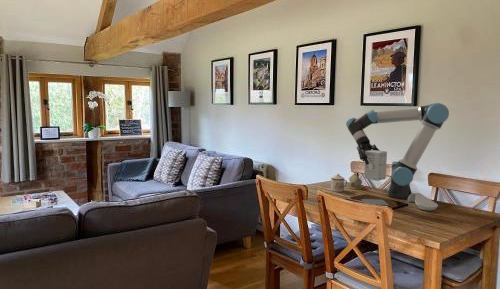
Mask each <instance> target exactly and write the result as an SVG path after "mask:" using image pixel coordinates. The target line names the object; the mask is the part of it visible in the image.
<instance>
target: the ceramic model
mask: <svg viewBox="0 0 500 289" xmlns="http://www.w3.org/2000/svg"><path fill="white" fill-rule="evenodd" d="M348 181H349V182H348V183H347V186H346V187H348V189H352V190H363V189H364V185H362V184H363V181H362V180H361V178H360V177H359V176H358V175H357V174H356V173H354V174H353V173H352V175H350V177H349V178H348ZM362 188H363V189H362Z"/></svg>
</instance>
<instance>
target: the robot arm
mask: <svg viewBox="0 0 500 289" xmlns="http://www.w3.org/2000/svg"><path fill="white" fill-rule="evenodd" d="M449 117H450V111H449V108H448V107H447V106H446V105H445V104H443V103H441V102H435V103H431V104H427V105H420V106H418V107H417V108H406V109H398V110H397V109H394V110H385V111H384V110H383V111H375V110H374V109H371V110H369V111H367V112H365V113H364V114H363V115H362V116H359V118H356V117H352V118H348V120H347V121H346V122H345V125H346V127H347V130H348V132H349V133H350V135H351V136H352V137H353V139H354V141H355V143H356V145H357V146H356V149H357V152H358V157H359V159H360V160H361V161H362V162H364V164H365V163H366V164H367V165H368V167H369V169H370V170H371V169H372V168H373V165H372V164H371V162H370V160H369V159H368V158H367V156H366V154H365V151H370V150H378V151H381V150H380V149H379V148H378V147H377V146H376V144H371V141H370V139H369V138H368V135H367V134H366V132H365V131H364V130H365V129H366V128H367V127H369V126H371V125H376V124H386V123H399V122H411V121H413V122H415V121H419V122H421V125H420V127H419V128H418V130H417V132H416V134H415V136H414V138H413V140H412V141H411V143H410V145H409V147H408V148H407V150H406V152H405V155H404V156H403V158H401V159H399V160H398V161H392V163H391V172H390V173H391V174H390V185H389V187H388V190H387V196H388V197H390V198H393V199H394V198H395V199H401V200H402V199H403V200H404V199H405V200H408V197H409V196H410V194H411V193H413V192H412V189H411V182H413V180H414V175H415V174H416V172H417V170H418V167H417V165H418V163H419V161H420V160H421V158H422V156H423V154H424V153H425V150H427V147H428V146H429V144H430V143H431V141H432V138H433V137H434V135H435V133H436V132H437V131H438V130H440V129H441V128H442V126H443V124H444V123H445V122H446V121H447V120H448V119H449ZM386 168H388V164H387V163H386Z"/></svg>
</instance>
